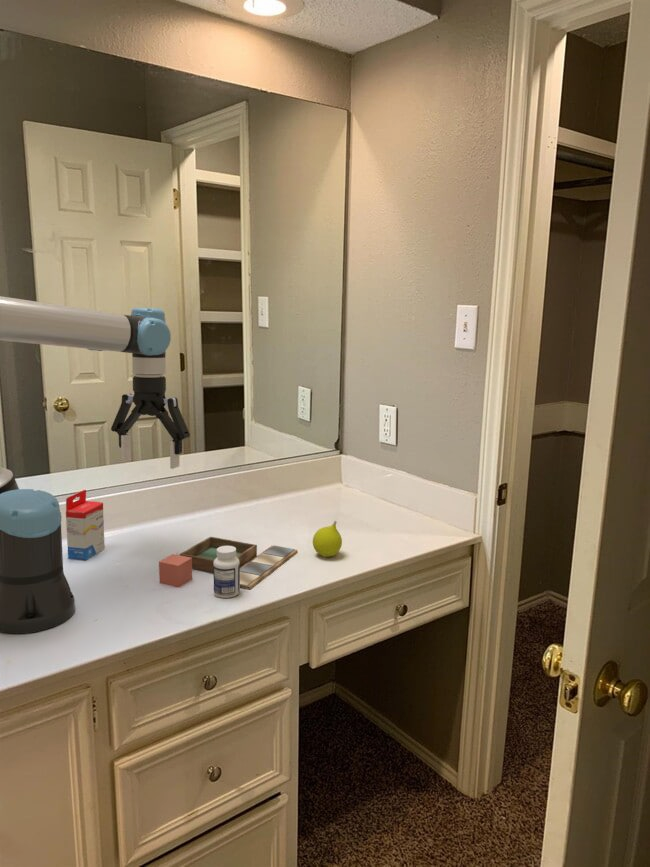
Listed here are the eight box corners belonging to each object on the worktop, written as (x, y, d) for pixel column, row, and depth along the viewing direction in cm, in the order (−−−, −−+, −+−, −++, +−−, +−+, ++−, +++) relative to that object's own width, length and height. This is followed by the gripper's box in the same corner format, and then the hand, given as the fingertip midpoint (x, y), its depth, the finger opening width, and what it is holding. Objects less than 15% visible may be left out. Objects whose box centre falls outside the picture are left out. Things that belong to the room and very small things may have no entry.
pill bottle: (224, 585, 140) (224, 542, 139) (244, 591, 138) (244, 547, 136) (208, 594, 136) (207, 550, 134) (229, 600, 133) (229, 555, 131)
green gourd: (346, 558, 157) (348, 518, 156) (320, 562, 154) (321, 522, 152) (332, 548, 164) (334, 510, 162) (307, 552, 160) (308, 513, 159)
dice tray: (228, 576, 145) (228, 563, 145) (179, 566, 150) (179, 554, 149) (256, 556, 157) (256, 545, 156) (210, 548, 162) (210, 536, 161)
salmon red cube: (178, 587, 139) (178, 565, 138) (159, 583, 141) (158, 561, 140) (192, 579, 143) (192, 557, 143) (173, 575, 145) (172, 554, 144)
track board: (249, 589, 139) (249, 586, 139) (221, 583, 141) (221, 580, 141) (297, 552, 160) (297, 549, 160) (272, 547, 163) (272, 544, 163)
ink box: (86, 561, 152) (83, 500, 149) (67, 558, 153) (64, 498, 150) (105, 548, 160) (103, 490, 157) (87, 546, 161) (84, 488, 158)
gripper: (204, 377, 152) (204, 466, 156) (114, 371, 160) (116, 455, 164) (187, 380, 145) (187, 473, 149) (94, 373, 153) (96, 461, 157)
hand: (150, 464), depth 156 cm, fingers open, 13 cm apart
